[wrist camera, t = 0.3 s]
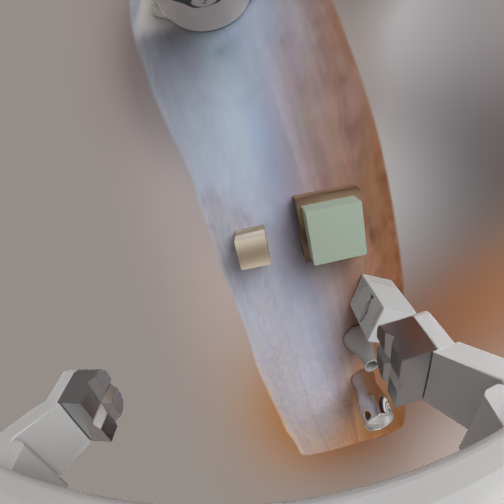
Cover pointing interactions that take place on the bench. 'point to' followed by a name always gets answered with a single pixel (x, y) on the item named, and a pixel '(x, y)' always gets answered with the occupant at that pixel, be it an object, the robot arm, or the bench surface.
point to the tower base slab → (316, 198)
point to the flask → (361, 347)
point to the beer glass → (371, 401)
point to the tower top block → (335, 229)
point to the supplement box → (378, 304)
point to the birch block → (252, 247)
